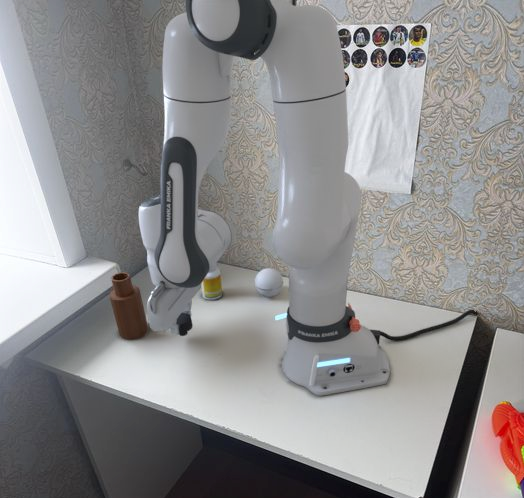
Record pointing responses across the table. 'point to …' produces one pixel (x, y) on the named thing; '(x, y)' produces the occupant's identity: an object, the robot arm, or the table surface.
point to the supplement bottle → (212, 284)
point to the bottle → (128, 307)
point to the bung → (184, 323)
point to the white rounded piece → (269, 282)
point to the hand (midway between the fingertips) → (181, 325)
